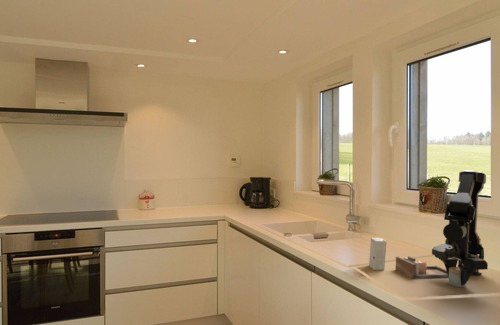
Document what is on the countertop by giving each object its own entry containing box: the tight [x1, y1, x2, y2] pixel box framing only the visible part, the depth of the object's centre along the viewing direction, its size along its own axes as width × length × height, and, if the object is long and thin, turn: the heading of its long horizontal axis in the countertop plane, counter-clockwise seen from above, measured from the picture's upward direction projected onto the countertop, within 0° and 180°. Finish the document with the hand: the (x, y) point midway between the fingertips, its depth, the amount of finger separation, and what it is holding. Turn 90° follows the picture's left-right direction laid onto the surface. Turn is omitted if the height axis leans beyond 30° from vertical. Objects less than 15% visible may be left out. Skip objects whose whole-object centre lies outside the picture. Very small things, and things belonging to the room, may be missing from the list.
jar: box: [415, 258, 428, 275], centre depth 132 cm, size 5×5×4 cm
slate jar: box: [447, 266, 466, 288], centre depth 121 cm, size 5×5×6 cm
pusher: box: [403, 256, 419, 275], centre depth 131 cm, size 1×7×6 cm, turn 12°
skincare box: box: [368, 237, 387, 271], centre depth 137 cm, size 6×4×12 cm
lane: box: [395, 256, 449, 280], centre depth 132 cm, size 18×10×6 cm, turn 102°
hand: (456, 282), depth 121 cm, fingers closed on slate jar, 5 cm apart
